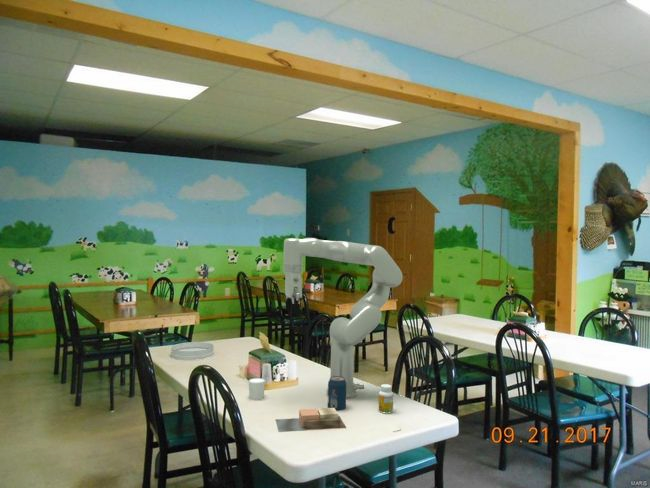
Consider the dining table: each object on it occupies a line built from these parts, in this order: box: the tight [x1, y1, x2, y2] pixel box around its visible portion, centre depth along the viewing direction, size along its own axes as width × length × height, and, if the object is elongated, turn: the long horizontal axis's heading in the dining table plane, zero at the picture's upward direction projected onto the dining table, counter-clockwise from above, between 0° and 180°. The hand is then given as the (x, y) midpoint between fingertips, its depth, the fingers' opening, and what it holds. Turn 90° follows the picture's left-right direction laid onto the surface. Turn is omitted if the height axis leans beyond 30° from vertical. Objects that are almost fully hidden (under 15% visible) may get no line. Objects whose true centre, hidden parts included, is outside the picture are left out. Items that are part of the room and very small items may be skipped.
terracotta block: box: [298, 408, 319, 428], centre depth 170 cm, size 6×6×4 cm
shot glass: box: [248, 377, 266, 401], centre depth 199 cm, size 7×7×7 cm
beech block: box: [317, 407, 339, 420], centre depth 171 cm, size 6×6×4 cm
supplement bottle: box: [378, 383, 394, 414], centre depth 186 cm, size 5×5×10 cm
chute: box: [275, 415, 347, 433], centre depth 170 cm, size 23×11×4 cm, turn 101°
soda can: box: [327, 376, 347, 411], centre depth 187 cm, size 7×7×12 cm
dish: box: [170, 341, 215, 361], centre depth 265 cm, size 22×22×5 cm
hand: (292, 312), depth 197 cm, fingers open, 9 cm apart
